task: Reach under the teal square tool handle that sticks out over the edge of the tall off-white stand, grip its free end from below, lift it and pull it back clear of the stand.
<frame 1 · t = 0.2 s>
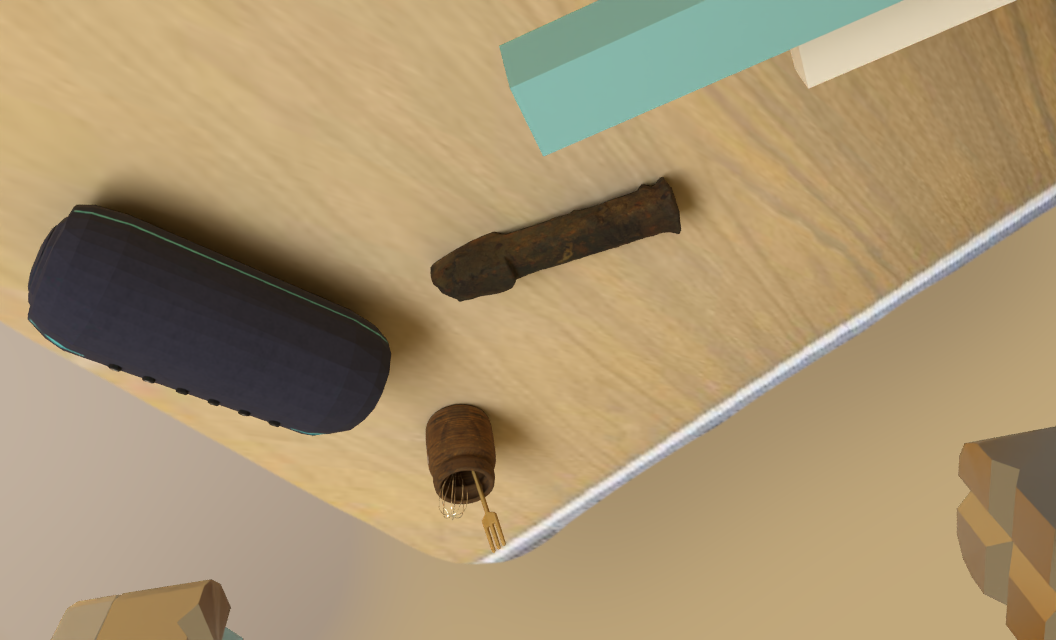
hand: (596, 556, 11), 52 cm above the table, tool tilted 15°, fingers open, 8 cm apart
utensil holder: (458, 423, 87), on the table
portable speaker: (223, 281, 73), on the table
hand tool: (550, 229, 74), on the table
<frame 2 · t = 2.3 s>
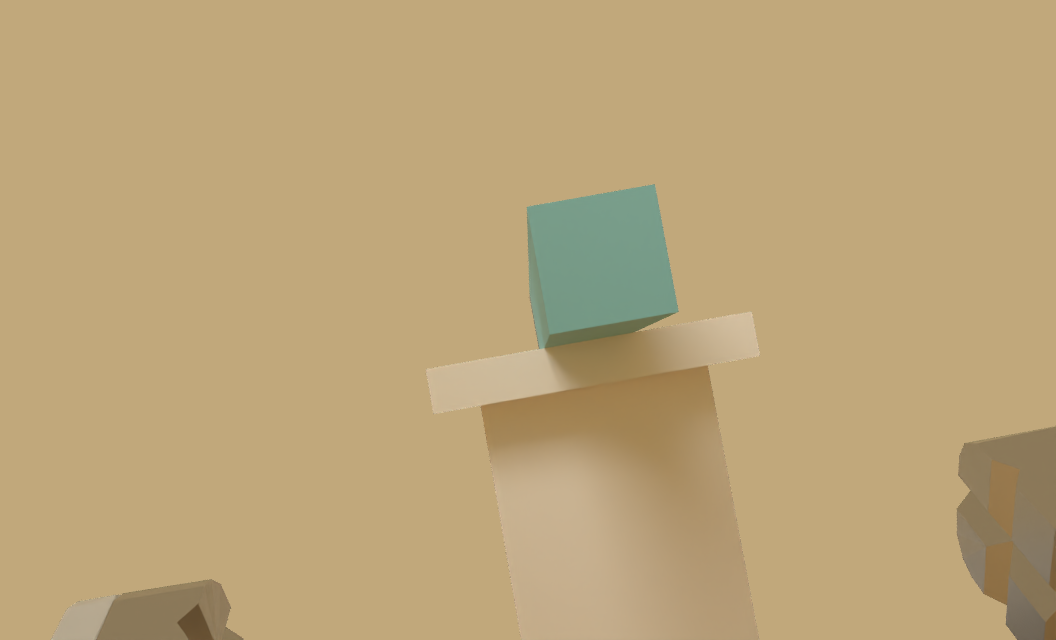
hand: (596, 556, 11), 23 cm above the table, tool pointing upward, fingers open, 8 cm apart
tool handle: (584, 343, 35), point 26 cm above the table, touching stand
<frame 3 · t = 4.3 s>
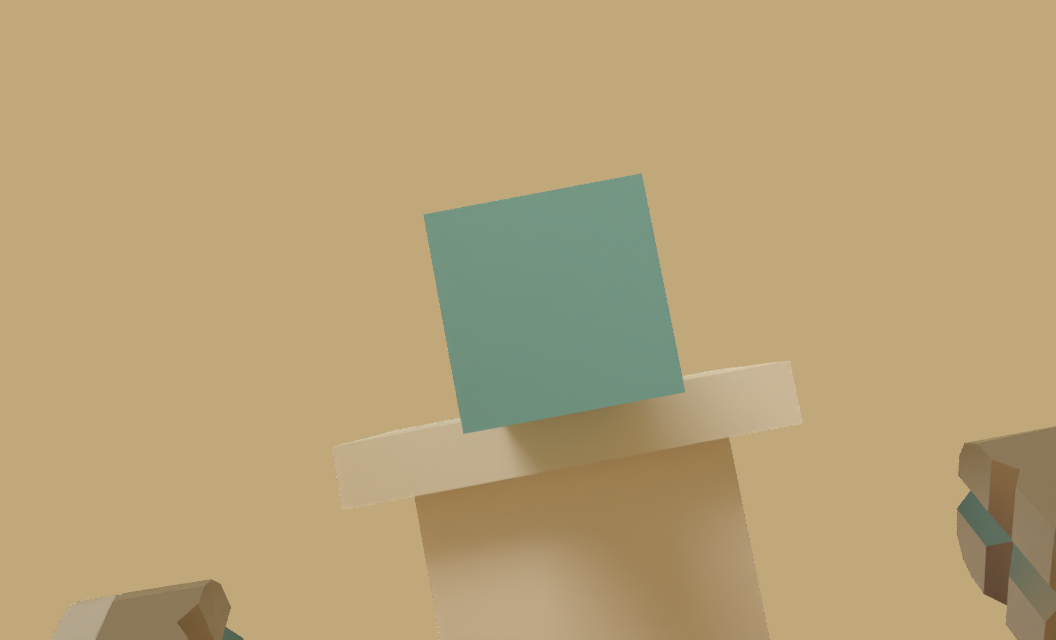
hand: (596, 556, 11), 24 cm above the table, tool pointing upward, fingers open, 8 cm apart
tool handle: (558, 402, 25), point 26 cm above the table, touching stand
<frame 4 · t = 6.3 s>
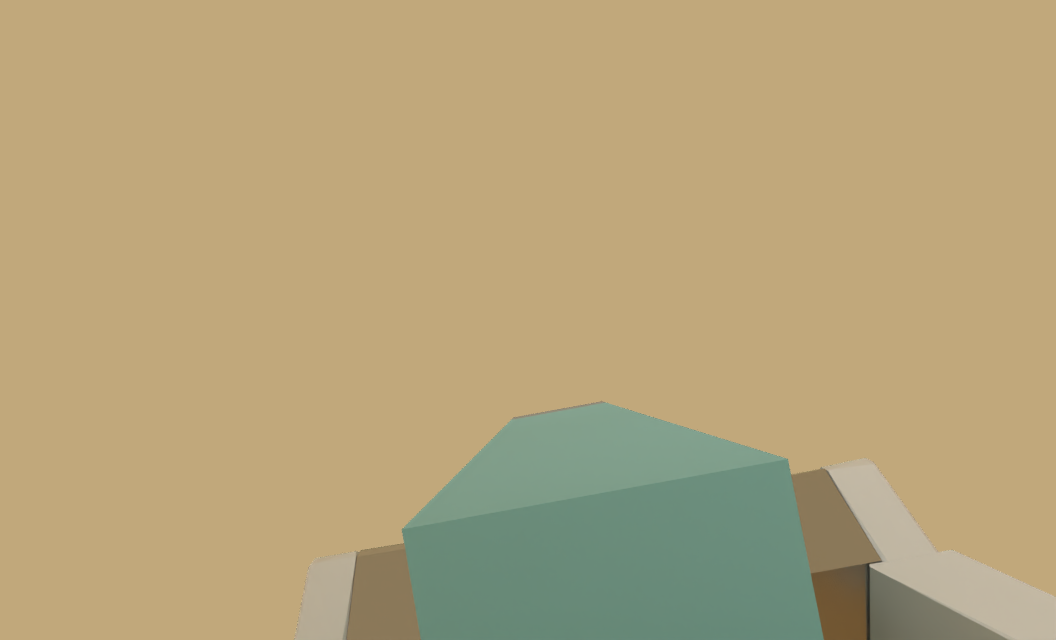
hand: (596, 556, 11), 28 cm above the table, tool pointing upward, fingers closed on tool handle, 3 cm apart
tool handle: (591, 571, 20), point 26 cm above the table, touching gripper, stand
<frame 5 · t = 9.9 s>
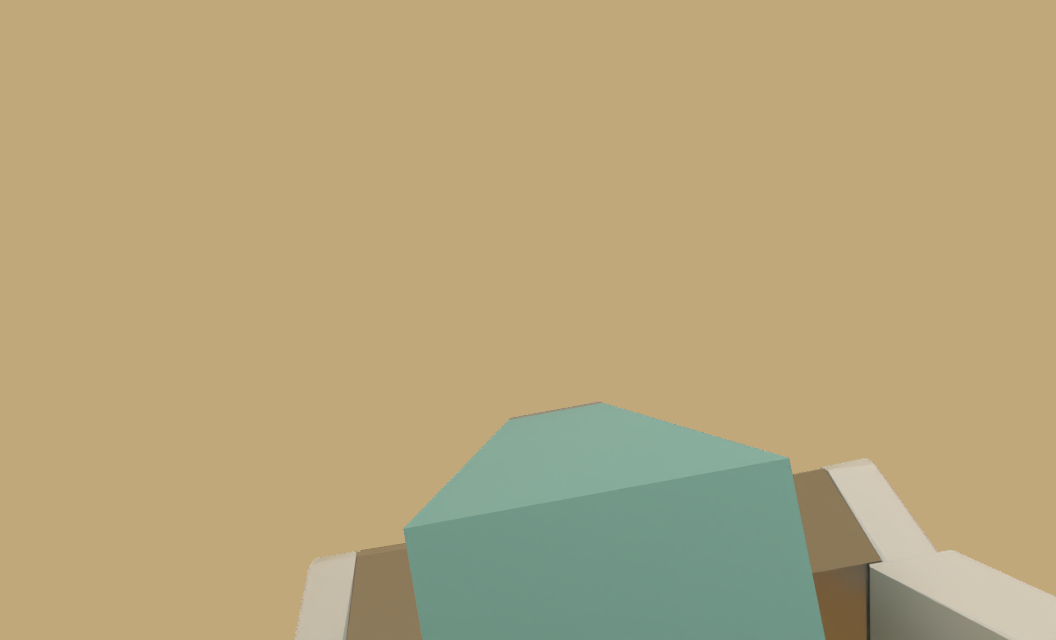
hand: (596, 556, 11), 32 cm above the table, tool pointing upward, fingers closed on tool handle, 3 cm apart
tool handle: (589, 571, 20), point 30 cm above the table, touching gripper
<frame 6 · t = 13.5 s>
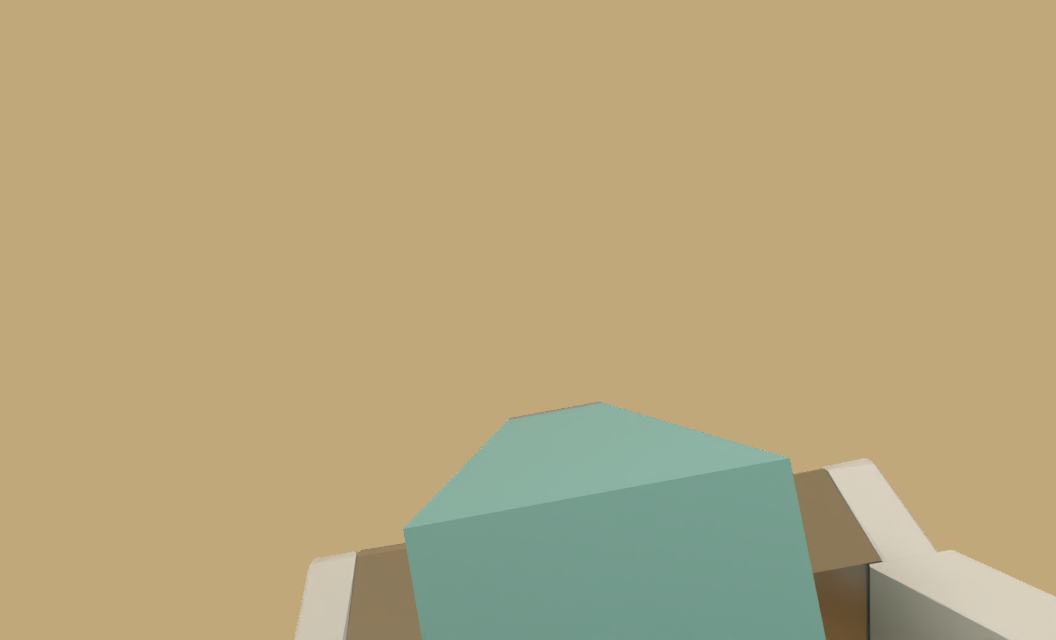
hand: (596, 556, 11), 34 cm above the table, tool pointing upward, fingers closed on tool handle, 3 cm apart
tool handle: (589, 571, 20), point 32 cm above the table, touching gripper
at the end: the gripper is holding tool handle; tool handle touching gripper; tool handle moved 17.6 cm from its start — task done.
